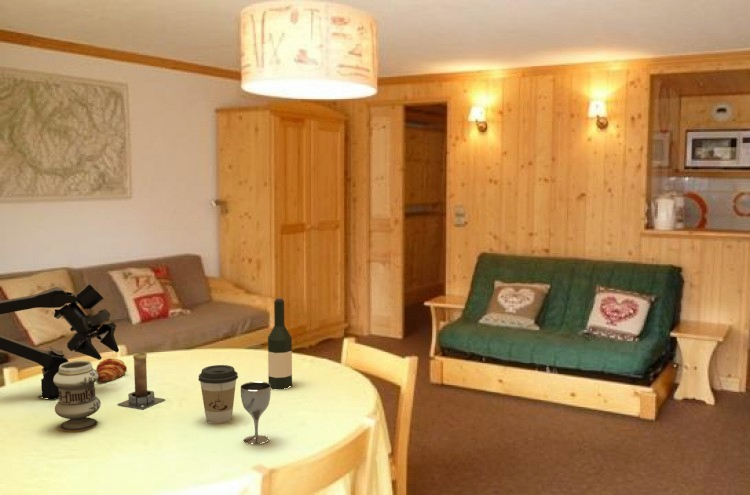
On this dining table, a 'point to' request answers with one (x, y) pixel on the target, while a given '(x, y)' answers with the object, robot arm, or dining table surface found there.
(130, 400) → the cup bracket
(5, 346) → the robot arm
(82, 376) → the apothecary jar
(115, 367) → the croissant
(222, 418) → the coffee cup
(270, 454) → the dining table surface
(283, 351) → the wine bottle
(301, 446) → the dining table surface
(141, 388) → the tall ribbed vase
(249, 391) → the wine glass
